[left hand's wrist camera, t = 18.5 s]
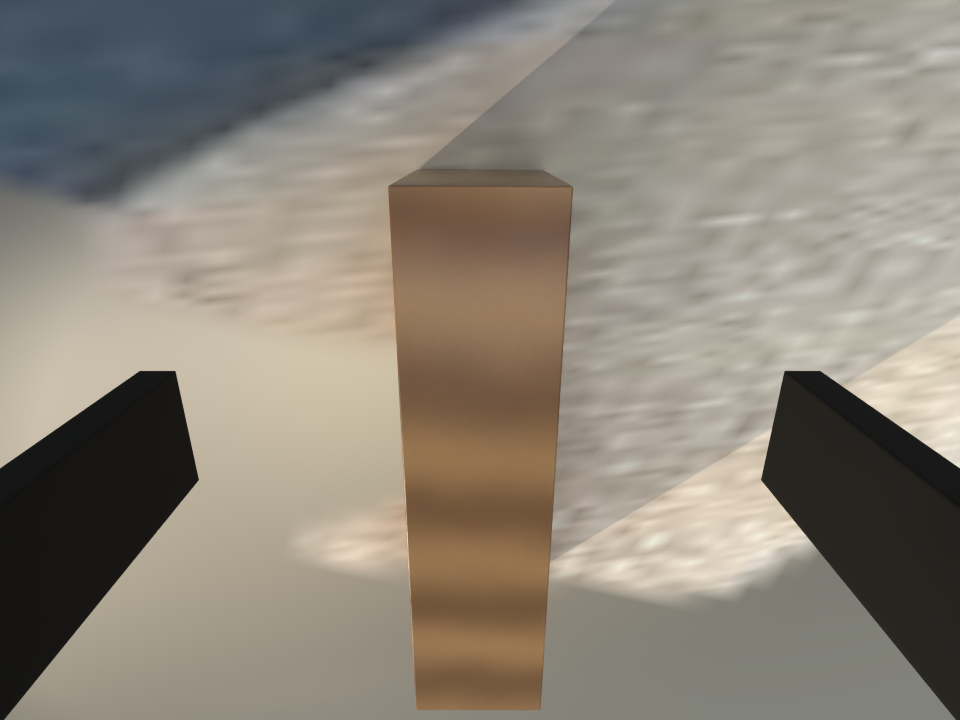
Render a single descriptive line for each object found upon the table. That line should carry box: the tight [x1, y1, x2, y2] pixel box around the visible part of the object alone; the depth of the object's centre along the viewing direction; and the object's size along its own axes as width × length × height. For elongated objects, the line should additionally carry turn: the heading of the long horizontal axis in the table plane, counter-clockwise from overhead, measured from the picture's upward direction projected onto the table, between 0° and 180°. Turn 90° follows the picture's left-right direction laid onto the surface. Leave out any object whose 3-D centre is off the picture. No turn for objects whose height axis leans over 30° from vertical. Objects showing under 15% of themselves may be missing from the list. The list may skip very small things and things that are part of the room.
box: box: [388, 170, 573, 710], centre depth 33 cm, size 30×7×11 cm, turn 0°
